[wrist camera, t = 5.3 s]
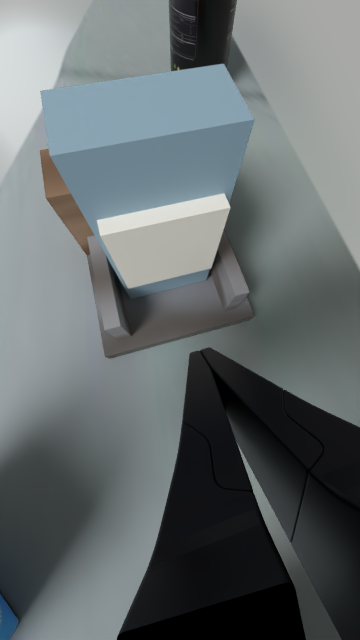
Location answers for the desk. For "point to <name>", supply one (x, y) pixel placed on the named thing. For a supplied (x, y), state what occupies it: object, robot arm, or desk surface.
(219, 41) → the supplement bottle
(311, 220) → the desk surface
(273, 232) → the desk surface
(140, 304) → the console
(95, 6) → the desk surface
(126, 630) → the robot arm
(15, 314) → the desk surface
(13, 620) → the ink box
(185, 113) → the blue white block
